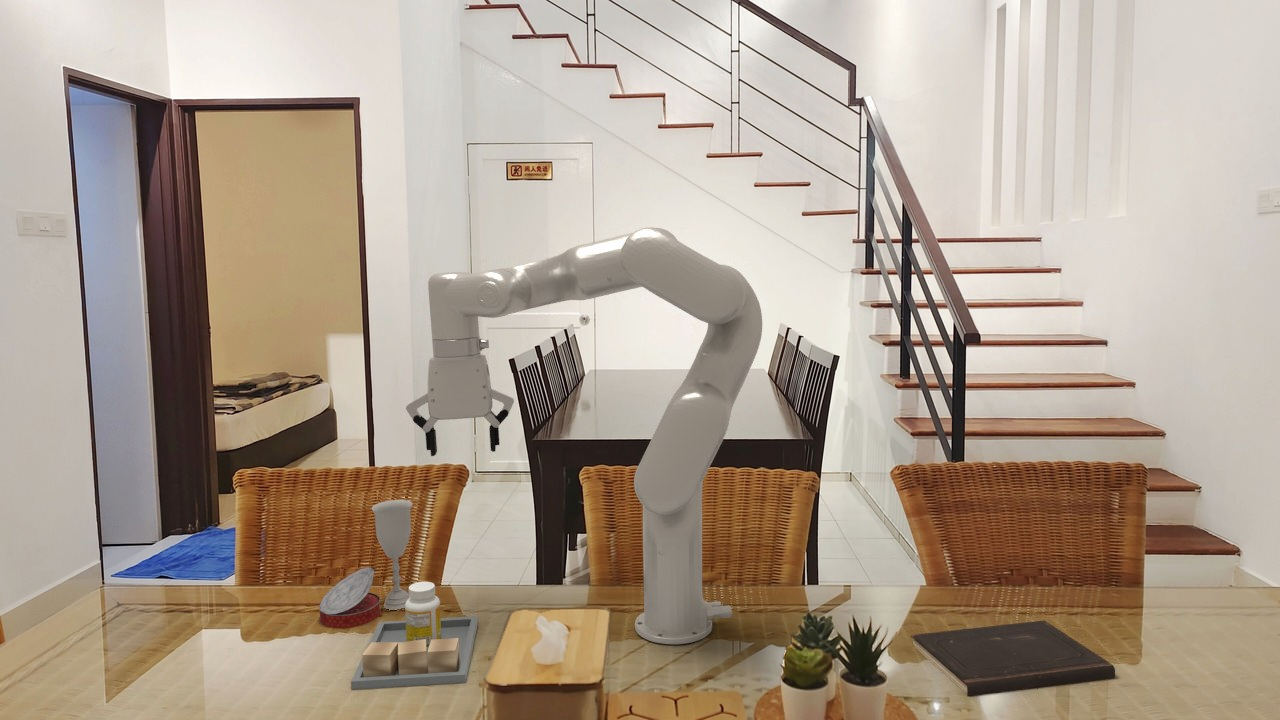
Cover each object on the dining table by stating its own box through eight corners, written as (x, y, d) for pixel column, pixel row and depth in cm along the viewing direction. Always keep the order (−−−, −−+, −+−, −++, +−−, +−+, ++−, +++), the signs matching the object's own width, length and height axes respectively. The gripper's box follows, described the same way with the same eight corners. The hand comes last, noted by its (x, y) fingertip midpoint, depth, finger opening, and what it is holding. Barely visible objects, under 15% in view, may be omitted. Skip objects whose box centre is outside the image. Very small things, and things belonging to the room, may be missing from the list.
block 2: (427, 664, 132) (425, 639, 131) (427, 676, 128) (426, 650, 128) (399, 668, 131) (398, 642, 130) (399, 680, 127) (397, 654, 127)
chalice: (406, 614, 151) (400, 513, 149) (369, 611, 153) (363, 511, 150) (424, 597, 158) (419, 500, 156) (390, 595, 160) (384, 499, 157)
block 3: (459, 663, 132) (458, 638, 131) (456, 676, 128) (455, 650, 128) (432, 665, 132) (431, 639, 131) (428, 678, 128) (427, 651, 127)
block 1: (399, 667, 131) (398, 642, 130) (391, 681, 127) (389, 654, 126) (373, 667, 131) (371, 642, 131) (363, 681, 127) (362, 654, 127)
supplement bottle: (420, 655, 135) (417, 595, 133) (399, 646, 138) (396, 587, 137) (449, 643, 139) (446, 585, 137) (428, 634, 142) (425, 577, 141)
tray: (478, 626, 146) (477, 616, 146) (465, 686, 126) (465, 674, 126) (379, 632, 145) (379, 621, 144) (351, 693, 125) (350, 681, 125)
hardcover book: (910, 648, 137) (911, 634, 136) (1043, 633, 141) (1044, 620, 141) (967, 700, 121) (968, 684, 121) (1115, 681, 125) (1116, 666, 125)
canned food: (373, 652, 148) (366, 614, 142) (313, 646, 148) (304, 608, 142) (392, 598, 157) (387, 560, 151) (336, 593, 157) (328, 555, 151)
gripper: (510, 343, 148) (516, 443, 150) (404, 349, 145) (412, 450, 148) (510, 348, 140) (516, 453, 142) (398, 354, 138) (407, 461, 140)
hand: (463, 452), depth 145 cm, fingers open, 9 cm apart
